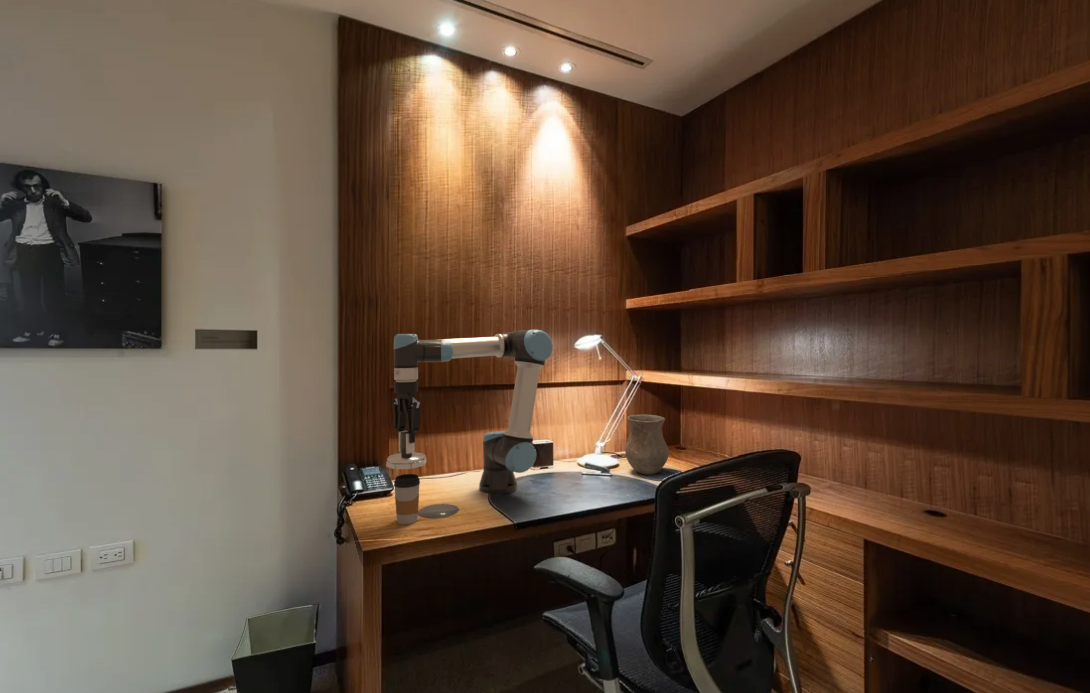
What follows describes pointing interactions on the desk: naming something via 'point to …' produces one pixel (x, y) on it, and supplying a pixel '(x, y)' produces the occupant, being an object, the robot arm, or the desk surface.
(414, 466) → the lid
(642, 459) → the vase
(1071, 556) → the desk surface
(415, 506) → the coffee cup
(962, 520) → the desk surface
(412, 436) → the robot arm
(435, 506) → the disc
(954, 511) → the desk surface
